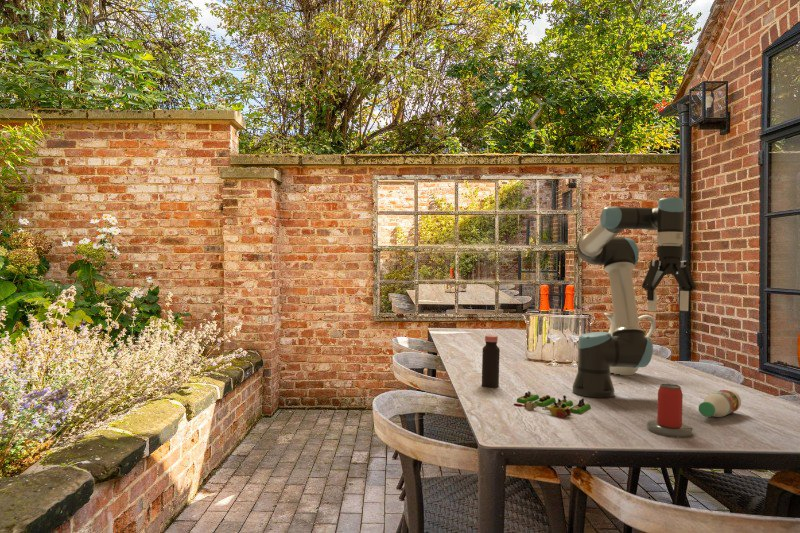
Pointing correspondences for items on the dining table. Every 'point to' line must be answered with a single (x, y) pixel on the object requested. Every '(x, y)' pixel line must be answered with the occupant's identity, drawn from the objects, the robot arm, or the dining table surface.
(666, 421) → the beer can
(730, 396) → the milk bottle
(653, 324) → the pitcher
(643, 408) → the dining table surface
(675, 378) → the dining table surface
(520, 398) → the toy garden set
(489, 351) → the vinegar
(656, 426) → the pad
